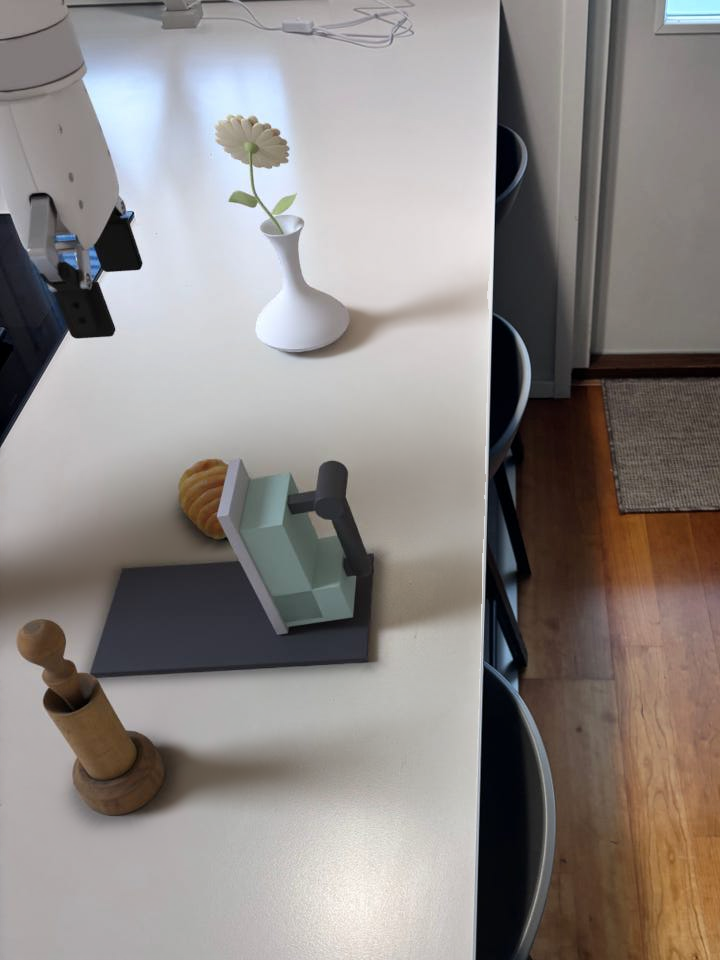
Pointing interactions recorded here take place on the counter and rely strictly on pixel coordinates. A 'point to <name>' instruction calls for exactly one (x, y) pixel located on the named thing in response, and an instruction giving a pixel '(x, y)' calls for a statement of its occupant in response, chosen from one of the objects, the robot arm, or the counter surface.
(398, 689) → the counter surface
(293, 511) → the iron
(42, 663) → the mortar and pestle
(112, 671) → the iron mat
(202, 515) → the pastry
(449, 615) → the counter surface
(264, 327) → the flower in vase
